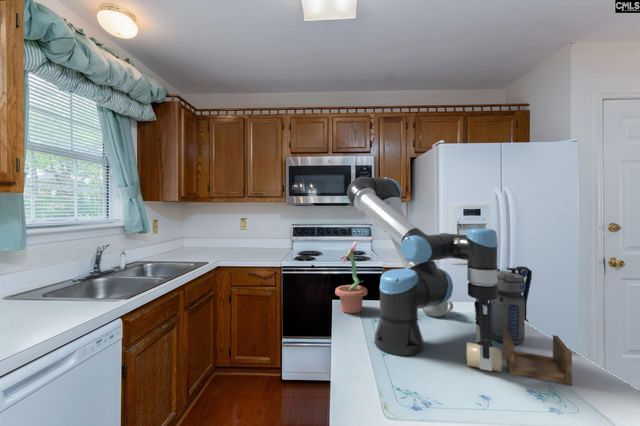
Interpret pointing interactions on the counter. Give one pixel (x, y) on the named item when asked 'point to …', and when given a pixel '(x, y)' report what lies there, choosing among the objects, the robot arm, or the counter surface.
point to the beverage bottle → (511, 304)
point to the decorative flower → (351, 289)
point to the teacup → (438, 309)
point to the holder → (539, 362)
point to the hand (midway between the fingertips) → (483, 357)
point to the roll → (474, 357)
